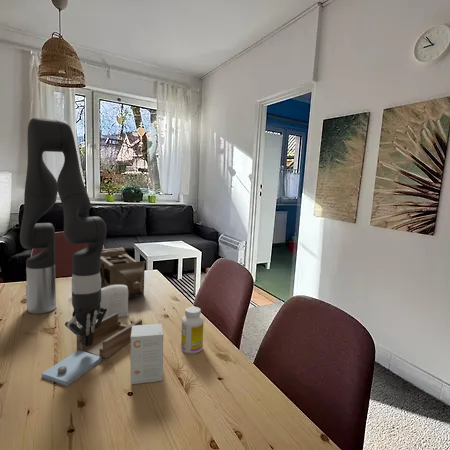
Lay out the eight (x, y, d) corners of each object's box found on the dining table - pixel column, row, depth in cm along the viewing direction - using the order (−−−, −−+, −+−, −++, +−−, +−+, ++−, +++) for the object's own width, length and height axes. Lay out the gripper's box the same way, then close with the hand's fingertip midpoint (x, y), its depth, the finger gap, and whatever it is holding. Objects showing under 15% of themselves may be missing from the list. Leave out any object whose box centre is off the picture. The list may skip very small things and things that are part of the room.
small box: (161, 366, 85) (162, 322, 83) (162, 381, 79) (163, 334, 77) (131, 369, 83) (131, 324, 81) (130, 385, 77) (130, 336, 75)
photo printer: (126, 312, 118) (126, 281, 116) (129, 316, 115) (129, 285, 113) (98, 317, 112) (97, 285, 111) (100, 322, 109) (100, 289, 107)
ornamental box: (154, 307, 130) (161, 265, 129) (113, 312, 118) (120, 266, 117) (122, 282, 156) (127, 247, 155) (86, 284, 144) (91, 246, 143)
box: (76, 350, 91) (76, 332, 90) (115, 327, 106) (115, 312, 105) (105, 360, 87) (105, 342, 86) (141, 335, 101) (142, 320, 100)
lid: (41, 379, 78) (41, 369, 78) (78, 355, 90) (78, 346, 89) (66, 388, 76) (66, 378, 75) (101, 362, 87) (101, 353, 86)
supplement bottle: (205, 345, 97) (207, 307, 95) (197, 356, 91) (198, 315, 89) (186, 341, 99) (188, 303, 97) (177, 351, 93) (178, 311, 91)
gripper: (95, 279, 93) (96, 332, 95) (55, 292, 81) (57, 353, 83) (114, 283, 90) (114, 338, 92) (76, 298, 78) (77, 361, 80)
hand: (87, 345), depth 88 cm, fingers closed
